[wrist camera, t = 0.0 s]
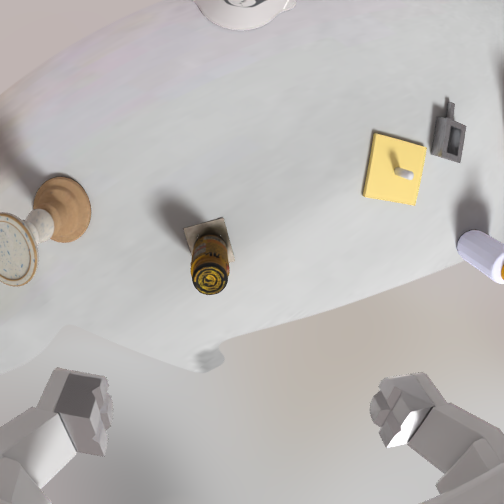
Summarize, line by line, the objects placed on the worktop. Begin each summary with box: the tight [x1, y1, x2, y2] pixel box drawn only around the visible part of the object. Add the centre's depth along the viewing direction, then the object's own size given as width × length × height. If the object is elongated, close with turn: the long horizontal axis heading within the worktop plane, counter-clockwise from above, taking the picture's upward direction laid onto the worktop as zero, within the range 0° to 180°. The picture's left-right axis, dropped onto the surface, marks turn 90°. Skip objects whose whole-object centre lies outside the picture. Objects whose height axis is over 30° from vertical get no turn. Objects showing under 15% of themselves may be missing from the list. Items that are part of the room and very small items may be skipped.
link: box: [431, 102, 466, 163], centre depth 52 cm, size 12×6×4 cm, turn 173°
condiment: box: [183, 218, 235, 295], centre depth 52 cm, size 7×8×12 cm
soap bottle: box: [457, 230, 504, 284], centre depth 56 cm, size 13×8×20 cm, turn 79°
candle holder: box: [0, 177, 91, 286], centre depth 42 cm, size 12×12×20 cm
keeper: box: [363, 133, 427, 206], centre depth 54 cm, size 12×12×6 cm
